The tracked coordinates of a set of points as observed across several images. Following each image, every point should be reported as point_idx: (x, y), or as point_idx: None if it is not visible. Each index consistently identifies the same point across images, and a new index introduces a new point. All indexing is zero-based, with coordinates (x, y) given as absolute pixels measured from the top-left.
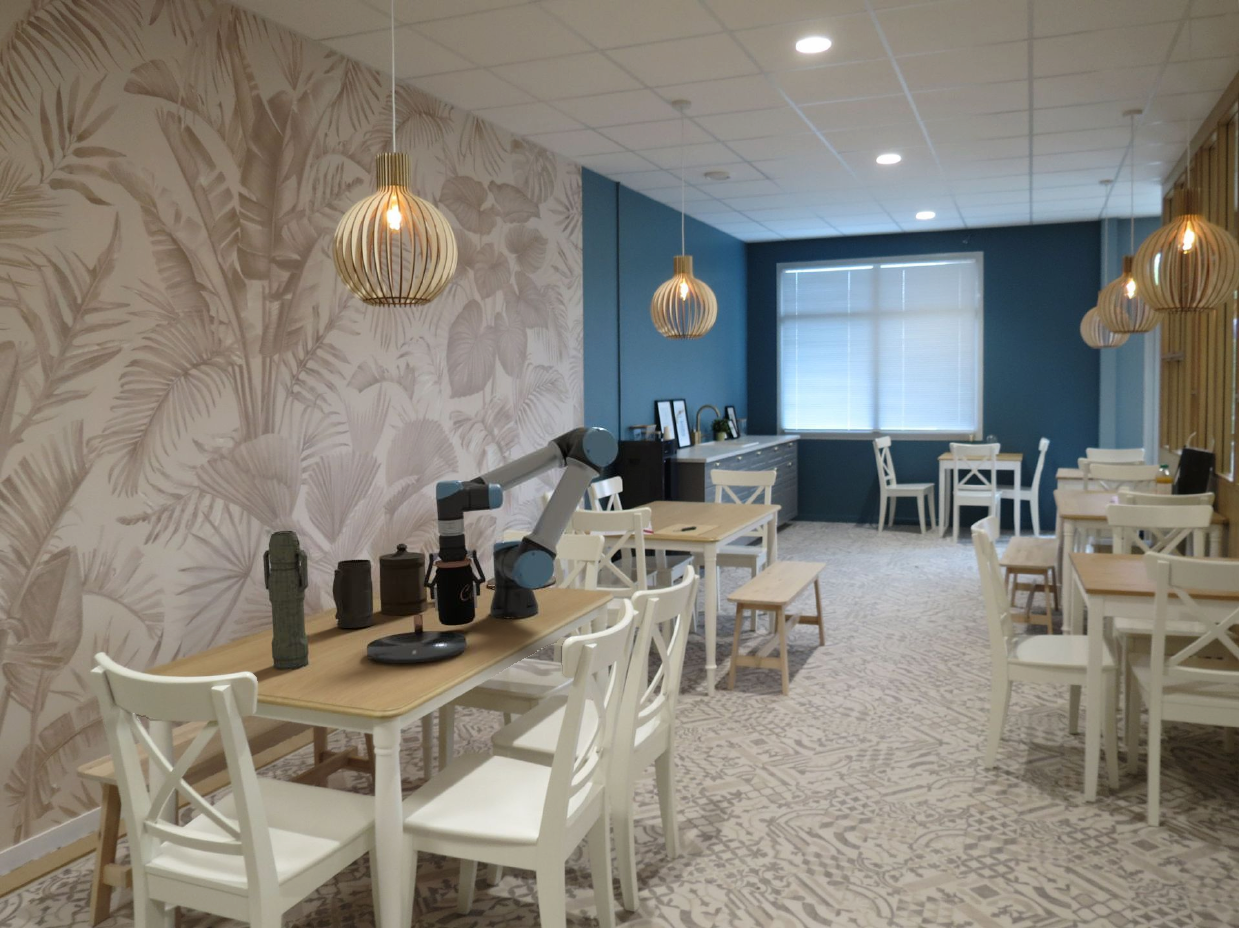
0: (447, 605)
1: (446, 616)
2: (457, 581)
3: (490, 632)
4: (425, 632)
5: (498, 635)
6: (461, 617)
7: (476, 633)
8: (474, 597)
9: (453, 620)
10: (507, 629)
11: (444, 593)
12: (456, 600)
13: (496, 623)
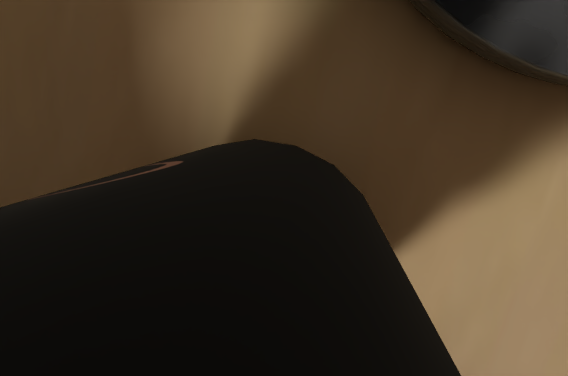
0: (349, 198)
1: (353, 188)
2: (39, 236)
3: (117, 115)
4: (557, 19)
5: (86, 19)
6: (245, 141)
7: (189, 132)
8: None
9: (306, 153)
10: (28, 137)
11: (395, 274)
12: (246, 164)
13: None
